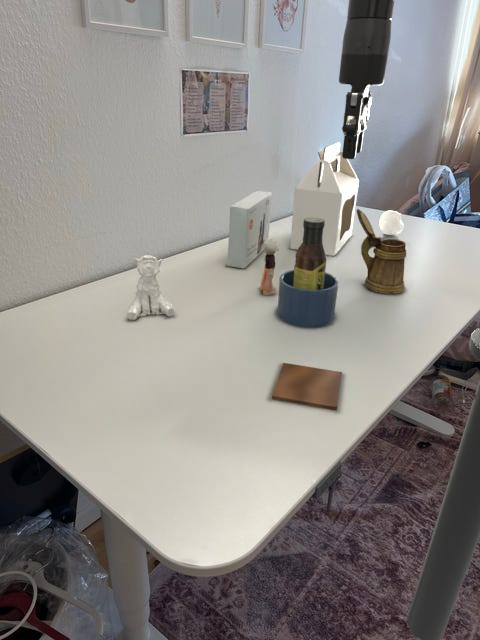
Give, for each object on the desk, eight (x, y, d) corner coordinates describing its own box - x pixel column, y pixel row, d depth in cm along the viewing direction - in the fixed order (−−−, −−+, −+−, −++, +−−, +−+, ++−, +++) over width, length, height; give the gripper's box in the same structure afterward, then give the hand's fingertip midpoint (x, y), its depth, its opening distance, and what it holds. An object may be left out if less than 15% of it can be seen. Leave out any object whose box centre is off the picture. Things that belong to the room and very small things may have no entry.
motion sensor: (401, 239, 149) (406, 215, 146) (376, 236, 151) (380, 212, 148) (401, 232, 156) (405, 208, 153) (377, 230, 158) (381, 206, 155)
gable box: (311, 229, 157) (320, 139, 144) (351, 235, 152) (364, 142, 139) (289, 249, 138) (297, 147, 126) (334, 256, 134) (347, 151, 121)
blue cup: (336, 306, 105) (340, 272, 101) (331, 331, 94) (335, 294, 91) (282, 299, 107) (285, 266, 104) (272, 323, 97) (274, 286, 93)
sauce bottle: (320, 321, 97) (330, 225, 88) (289, 318, 98) (297, 223, 89) (321, 307, 103) (331, 216, 94) (292, 304, 104) (299, 214, 95)
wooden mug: (350, 274, 122) (359, 204, 113) (405, 283, 117) (419, 210, 109) (343, 287, 114) (353, 212, 106) (402, 297, 110) (417, 220, 102)
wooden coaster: (341, 374, 81) (341, 371, 80) (336, 410, 72) (337, 407, 72) (283, 365, 83) (283, 362, 83) (271, 398, 74) (271, 395, 74)
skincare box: (246, 269, 123) (248, 208, 116) (226, 266, 125) (227, 206, 117) (270, 246, 141) (273, 191, 134) (252, 243, 142) (254, 189, 135)
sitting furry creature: (127, 321, 96) (122, 265, 91) (125, 303, 103) (120, 250, 98) (174, 317, 98) (172, 261, 93) (168, 299, 106) (166, 247, 100)
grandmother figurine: (255, 286, 114) (258, 234, 108) (271, 285, 114) (274, 233, 109) (264, 299, 107) (266, 245, 101) (280, 298, 108) (284, 244, 102)
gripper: (385, 50, 72) (368, 163, 79) (391, 54, 84) (376, 152, 91) (335, 50, 74) (323, 159, 81) (347, 54, 86) (337, 149, 93)
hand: (351, 155), depth 86 cm, fingers open, 8 cm apart
